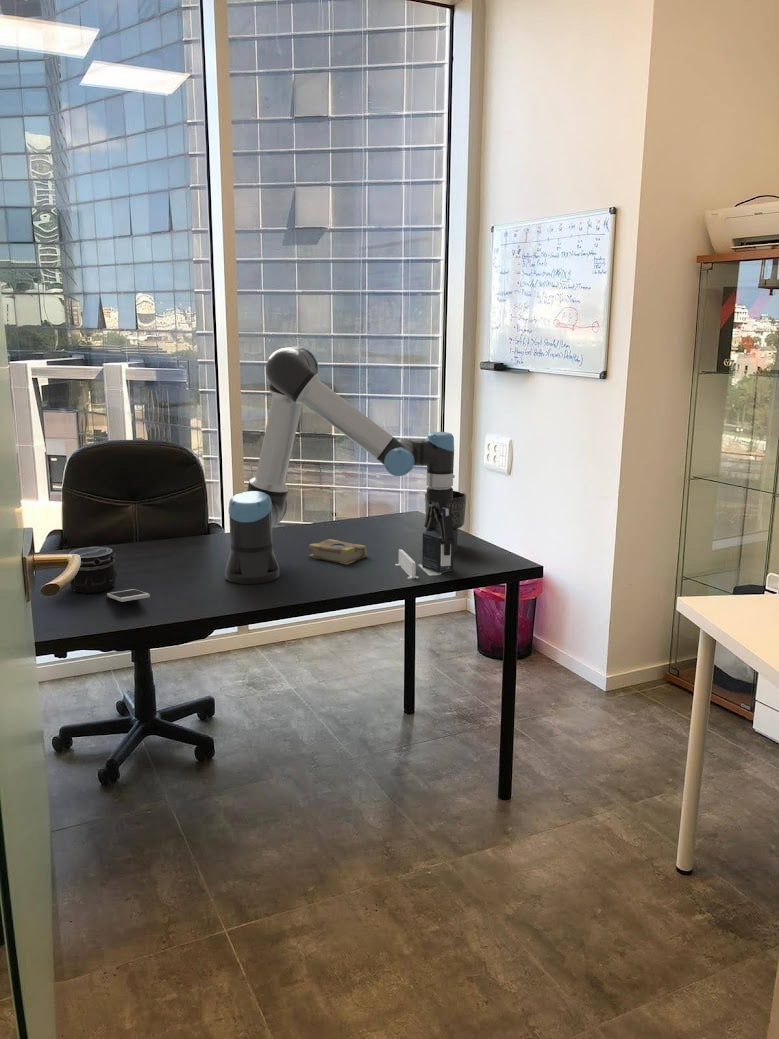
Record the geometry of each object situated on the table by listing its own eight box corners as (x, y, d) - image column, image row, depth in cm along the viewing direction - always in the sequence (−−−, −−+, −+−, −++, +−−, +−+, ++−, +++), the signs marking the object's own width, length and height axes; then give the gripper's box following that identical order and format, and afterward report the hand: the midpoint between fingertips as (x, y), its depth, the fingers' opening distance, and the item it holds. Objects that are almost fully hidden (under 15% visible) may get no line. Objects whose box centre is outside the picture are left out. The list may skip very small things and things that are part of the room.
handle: (408, 580, 242) (408, 563, 241) (395, 565, 255) (395, 549, 254) (418, 579, 243) (419, 562, 242) (405, 565, 256) (405, 549, 255)
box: (453, 570, 250) (454, 534, 248) (438, 573, 247) (439, 537, 244) (436, 563, 256) (436, 529, 254) (421, 567, 253) (422, 532, 250)
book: (308, 558, 264) (308, 542, 262) (330, 550, 273) (330, 534, 271) (347, 566, 256) (347, 550, 255) (368, 557, 265) (368, 542, 263)
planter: (425, 554, 267) (426, 498, 263) (422, 543, 279) (423, 490, 275) (467, 554, 267) (468, 498, 263) (462, 543, 280) (463, 489, 276)
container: (83, 578, 242) (80, 544, 239) (126, 581, 240) (123, 546, 237) (58, 592, 230) (55, 557, 227) (103, 595, 228) (101, 559, 225)
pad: (429, 576, 245) (429, 575, 245) (417, 565, 255) (417, 564, 255) (459, 574, 247) (459, 573, 247) (446, 563, 258) (446, 562, 258)
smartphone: (121, 602, 214) (121, 598, 214) (106, 596, 227) (106, 593, 227) (150, 597, 217) (149, 593, 217) (134, 592, 231) (133, 588, 231)
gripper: (467, 495, 235) (464, 570, 240) (438, 478, 258) (437, 547, 263) (440, 496, 233) (439, 572, 238) (414, 479, 256) (413, 548, 261)
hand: (438, 559), depth 251 cm, fingers open, 12 cm apart
